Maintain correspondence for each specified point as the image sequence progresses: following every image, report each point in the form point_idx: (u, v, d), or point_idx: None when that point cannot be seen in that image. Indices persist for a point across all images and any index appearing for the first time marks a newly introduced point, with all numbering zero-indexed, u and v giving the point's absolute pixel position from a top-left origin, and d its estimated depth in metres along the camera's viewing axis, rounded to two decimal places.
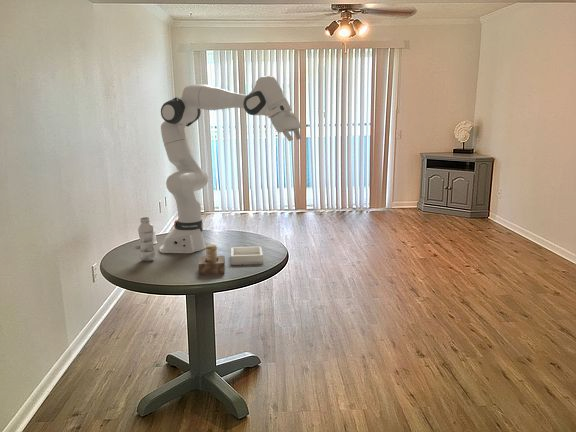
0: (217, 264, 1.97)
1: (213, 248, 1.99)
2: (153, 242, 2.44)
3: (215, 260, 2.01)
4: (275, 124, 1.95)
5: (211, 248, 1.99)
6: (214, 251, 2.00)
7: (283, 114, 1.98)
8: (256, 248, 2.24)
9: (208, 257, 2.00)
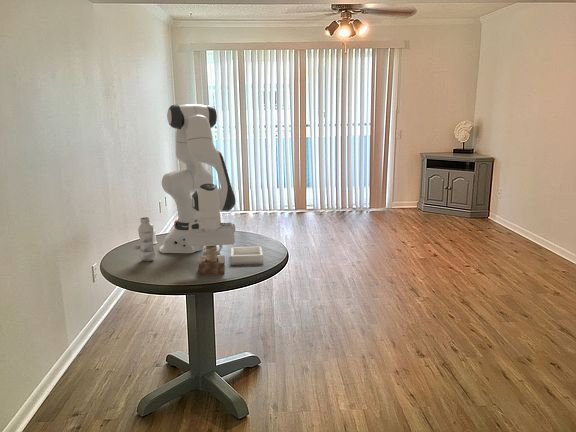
0: (217, 264, 1.97)
1: (213, 248, 1.99)
2: (153, 242, 2.44)
3: (215, 260, 2.01)
4: None
5: (211, 248, 1.99)
6: (214, 251, 2.00)
7: (197, 232, 1.96)
8: (256, 248, 2.24)
9: (208, 257, 2.00)
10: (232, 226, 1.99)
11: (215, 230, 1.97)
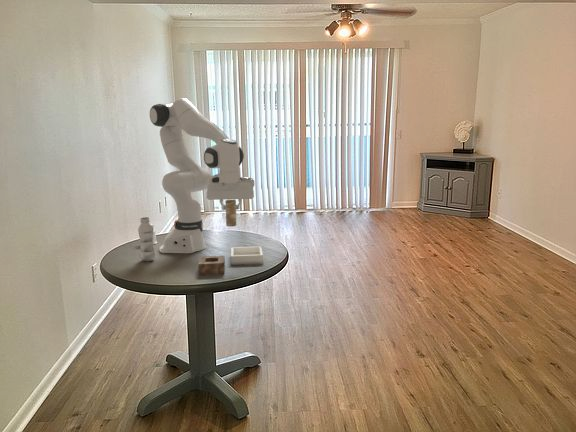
0: (217, 264, 1.97)
1: (232, 202, 2.04)
2: (153, 242, 2.44)
3: (234, 214, 2.06)
4: None
5: (230, 202, 2.04)
6: (233, 205, 2.04)
7: (217, 185, 2.01)
8: (256, 248, 2.24)
9: (227, 211, 2.05)
10: (251, 181, 2.04)
11: (235, 184, 2.02)
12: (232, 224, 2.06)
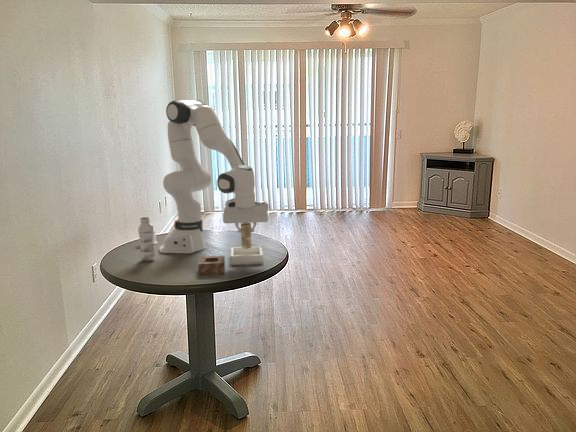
0: (217, 264, 1.97)
1: (248, 225, 2.13)
2: (153, 242, 2.44)
3: (249, 237, 2.14)
4: None
5: (246, 225, 2.12)
6: (249, 228, 2.13)
7: (233, 210, 2.10)
8: (256, 248, 2.24)
9: (243, 234, 2.13)
10: (265, 205, 2.13)
11: (250, 208, 2.11)
12: (247, 246, 2.15)
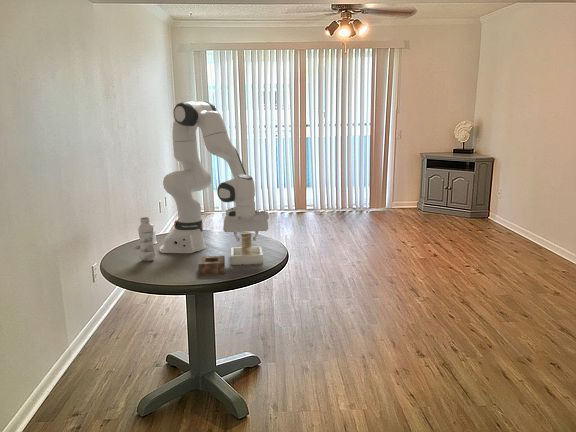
0: (217, 264, 1.97)
1: (248, 236, 2.14)
2: (153, 242, 2.44)
3: (250, 247, 2.16)
4: None
5: (247, 236, 2.13)
6: (249, 239, 2.14)
7: (233, 219, 2.11)
8: (256, 248, 2.24)
9: (243, 244, 2.14)
10: (266, 214, 2.14)
11: (250, 217, 2.12)
12: None
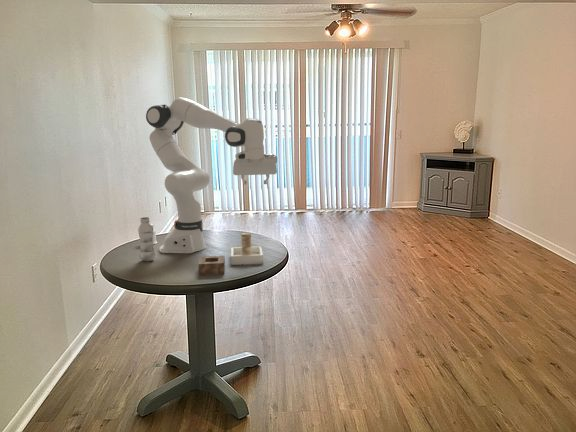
0: (217, 264, 1.97)
1: (248, 236, 2.14)
2: (153, 242, 2.44)
3: (250, 247, 2.16)
4: None
5: (246, 236, 2.14)
6: (249, 239, 2.14)
7: (243, 161, 2.16)
8: (256, 248, 2.24)
9: (243, 244, 2.15)
10: (274, 157, 2.19)
11: (259, 160, 2.17)
12: None
